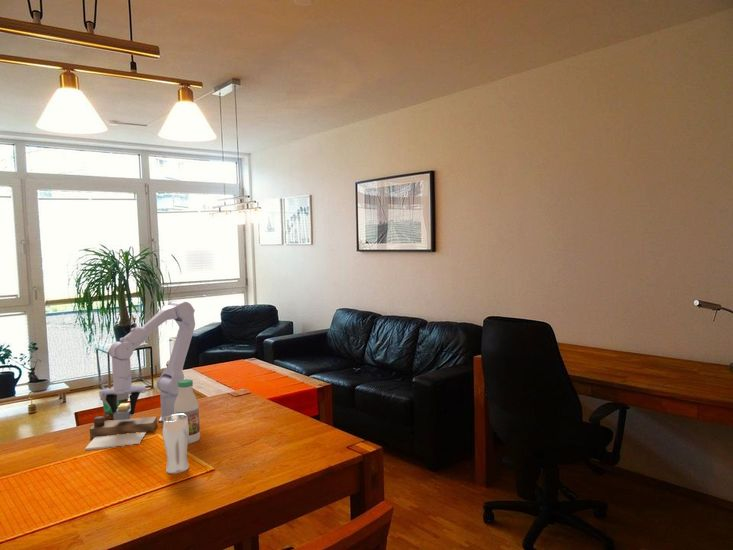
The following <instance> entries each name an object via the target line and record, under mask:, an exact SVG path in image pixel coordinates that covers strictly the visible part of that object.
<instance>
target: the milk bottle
mask: <svg viewBox="0 0 733 550" xmlns="http://www.w3.org/2000/svg"><path fill="white" fill-rule="evenodd" d="M193 385H194V382H193V379H189V378H188V379H185V378H184V380H180V381H178V389H179V393H178V396H177V399H176V401H175V405H174V414H186V415H187V417H188V425H189V440H188V445H190V444H194V443H196V442H198V441H200V438H201V431H200V430H201V426H200V408H199V402H198V401H199V400H198V399H197V397H196V395H195V392H194V390H193V387H194V386H193Z"/></svg>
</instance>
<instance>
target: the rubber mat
mask: <svg viewBox="0 0 733 550" xmlns="http://www.w3.org/2000/svg"><path fill="white" fill-rule="evenodd" d="M145 434H146V435H147V432H139V433H129V434H119V435H109V436H99V437H93V439H92V440H91V441H90V442H89V443H88V445H87V446H86V447H85V448H84V451H89V450H100V449H110V447H111V448H117V447H116V446H121V447H126V446H125V445H130V446H134V445H133V444H141V443H142V441H143V440H142V439H144V438H145V436H146V435H145ZM143 437H144V438H143ZM141 440H142V441H141ZM140 442H141V443H140Z"/></svg>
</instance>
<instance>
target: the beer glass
mask: <svg viewBox="0 0 733 550" xmlns="http://www.w3.org/2000/svg"><path fill="white" fill-rule="evenodd" d="M162 439H163V445H164V449H165V453H166V469H165V472H166V473H167V474H170V475H171V474H172V475H174V474H175V475H176V474H181V473H184V472H186V471H187V470H188V469H189V467H190V464H189V461H188V445H189V444H188V440H189V425H188V417H187V415H186V414H173V415H169V416H166V417H164V418H163V421H162Z"/></svg>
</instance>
